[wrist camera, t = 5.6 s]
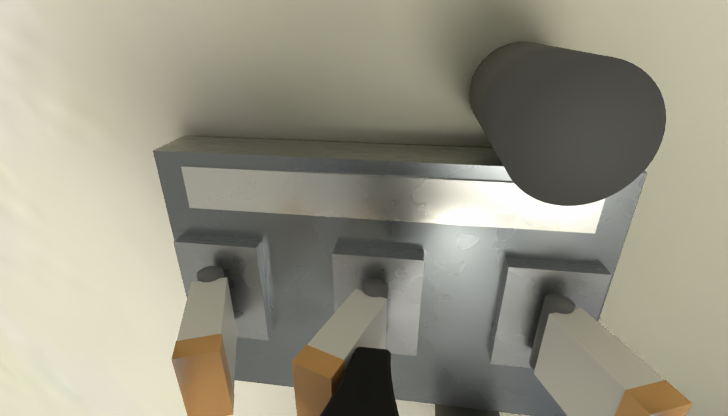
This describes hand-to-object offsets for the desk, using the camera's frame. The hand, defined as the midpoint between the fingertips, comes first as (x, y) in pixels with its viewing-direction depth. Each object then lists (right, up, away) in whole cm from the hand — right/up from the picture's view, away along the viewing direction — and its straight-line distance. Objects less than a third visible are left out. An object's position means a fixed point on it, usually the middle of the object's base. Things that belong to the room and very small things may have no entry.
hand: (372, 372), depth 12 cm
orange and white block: (-6, +1, +3) cm, 7 cm away
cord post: (+5, +9, +1) cm, 10 cm away
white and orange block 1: (0, +1, +2) cm, 3 cm away
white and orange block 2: (+6, +1, +2) cm, 6 cm away
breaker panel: (+1, +2, +5) cm, 6 cm away
